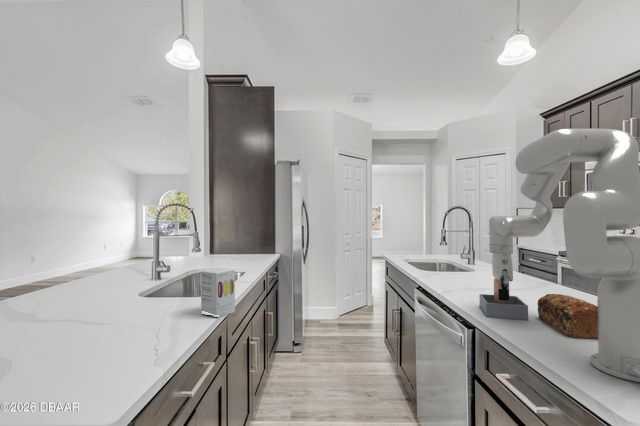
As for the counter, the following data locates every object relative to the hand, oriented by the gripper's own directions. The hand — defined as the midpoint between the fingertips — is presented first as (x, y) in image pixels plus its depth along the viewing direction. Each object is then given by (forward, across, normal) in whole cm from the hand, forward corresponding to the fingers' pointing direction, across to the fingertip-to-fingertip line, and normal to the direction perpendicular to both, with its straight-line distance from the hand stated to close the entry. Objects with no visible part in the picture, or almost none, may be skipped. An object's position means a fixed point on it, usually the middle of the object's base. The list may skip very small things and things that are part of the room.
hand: (501, 297), depth 116 cm
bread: (+6, -11, -17) cm, 21 cm away
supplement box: (+6, -27, +104) cm, 108 cm away
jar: (+1, 0, 0) cm, 1 cm away
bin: (+6, 0, 0) cm, 6 cm away
